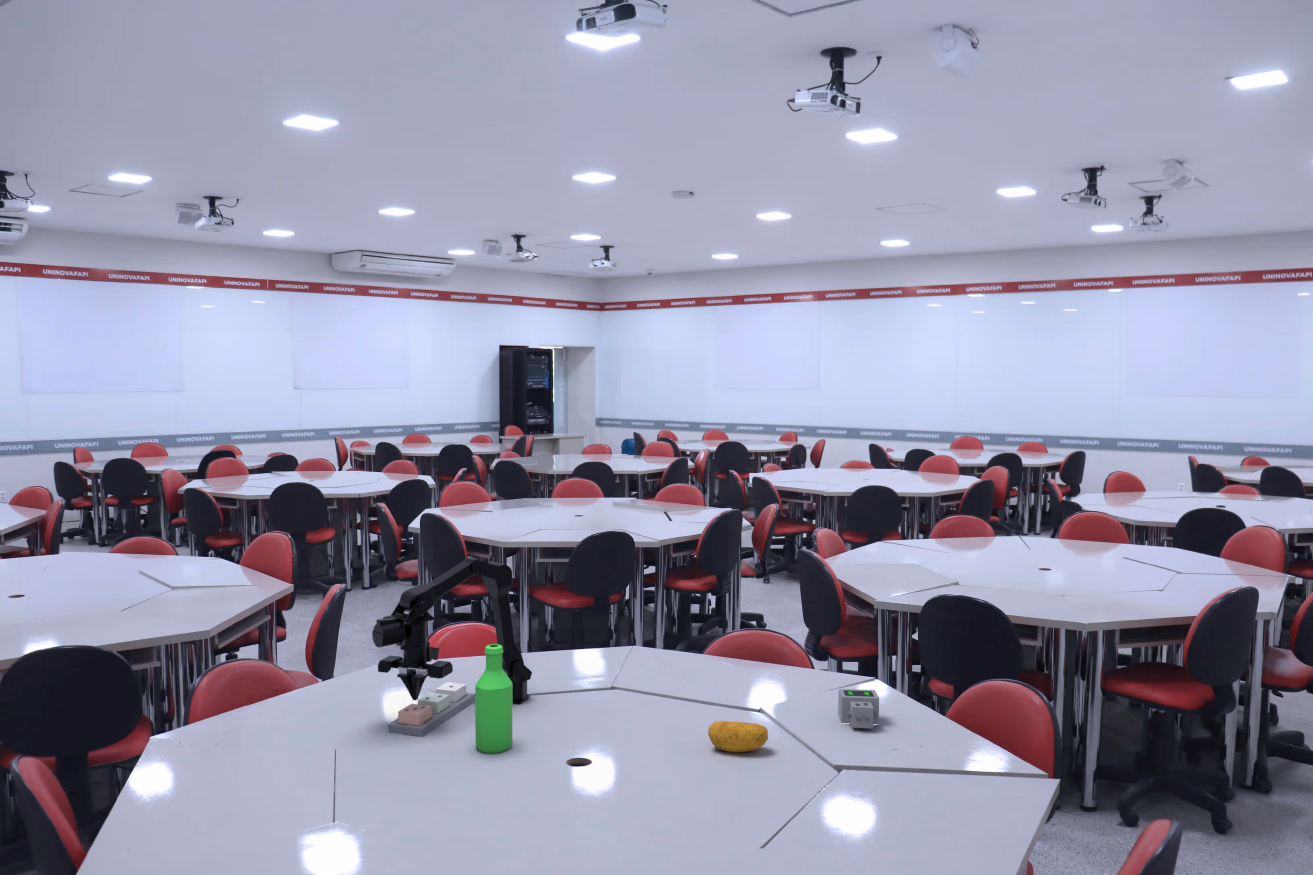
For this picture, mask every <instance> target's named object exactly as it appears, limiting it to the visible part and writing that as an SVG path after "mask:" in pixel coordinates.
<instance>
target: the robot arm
mask: <svg viewBox="0 0 1313 875" xmlns="http://www.w3.org/2000/svg"><path fill="white" fill-rule="evenodd" d="M475 575H478V576H481V577H482V581H483V584H484V587H485V588H486V590H487V591H488V593H489V594H490V599H491V605H492V614H493V620H494V622H493V623H494V628H495V636H496V644H499V645H501V646H502V647H503V653H502V669H503V670H504V672H505V673H506V674H507V676H508V677H509V679H510V680H511V681H512V683H513V702H512V704H518V705H520V704H523V703H524V702H525V701H526V700H528V699H529V698H530V696H531V695H530V694H528V681H529V680H531V679H532V674H533V672H532V671H531V669H530V668H529V667H527V666H526V665H525V662H524V658H523V655H522V651H521V650H520V648H519V646H518V645H517V643H516V640H515V632H514V625H513V617H512V609H511V602H510V592H511V588H512V586H513V570H512V568H511V567H510V566H509V565H507V564H505V563H500V562H496V561H489V562H485V561H482V560H480V559H478V558H474V557H466V558H464V560H462V561H461V562H460V563H458V564H457V565H456V566H453V567H452V568H450V569H448V570H447V571H445V572H444V573H443V574H441V575H439V576H437V577H435V578H434V579H432V580H431V581H429V582H427V583H425V584H420V585H416V586H413V587H411V588H408V589H406V590H404V591H403V592H402V593H401V594H400V598H399V601H398V603H397V604H396V606H395V608H394V610H393V611H392V613H391V615H390V617H389V618H388V617H387V618H379V619H376V624H375V625H374V627H373V630H372V632H371V634H372V636H371V637H372V641H373V644H374V645H375V647H376V648H383V647H387V646H393V645H397V644H401V643H402V642H403V644H402V645H400V650H401V651H402V652H403V657H402V656H396V655H389V656H387V657H384V658H383V659H379V661H378V664H377V672H378V673H384V674H385V673H386V674H387V673H388V674H389V673H390V671H391V670H392V669H398V673H397V674H396V677H397V678H400V680H401V682H402V683H403V685H404V686H405V688H406V689H407V692H408V693H409V695H410V697H411V699H412V700H413V701H418V699H419V696H420V694H421V691H422V689H423V685H424V683H425V681H426V679H427V677H429V678H431V679H443V678H445V677H447V676H448V675H450V674H452V673H453V672H454V671H453V670H454V668H453V664H452V663H451V661H448V660H447V661H445V660H439V655H440V654H439V652H440V647H434V646H431V643H430V641H428V640H427V622H430V621H434V620H435V616H433V615H431V613H429V610H431V609H432V608H433V607H434V606H435V605H436V603H437V601H438V600H439V599H440V598H441V597H442V596H443V595H445V594H447V593H448V592H449V591H451V590H453V589H455V588H456V587H458V586H459V585H461V584H462V583H464V582H465V581H467V580H468V579H470V578H471V577H473V576H475ZM406 612H407V613H406ZM432 660H433V661H434V662H433V663H430V662H432Z"/></svg>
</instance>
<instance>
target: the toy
mask: <svg viewBox="0 0 1313 875" xmlns="http://www.w3.org/2000/svg"><path fill="white" fill-rule="evenodd" d="M837 701H838V702H837V703H838V704H837V705H838V706H837V711H838V712H837V716H838V715H839V717H838V719H839V718H840V720H839V722H840V721H841V723H850V724H851V725H850V727H851V728H852V729H874V726H873V724H879V723H880V718H879V717H880V697H879V695H878V693H877V691H876V690H875V689H854V688H853V689H852V688H851V689H850V688H838V700H837ZM841 723H840V724H841ZM879 725H880V724H879Z"/></svg>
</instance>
